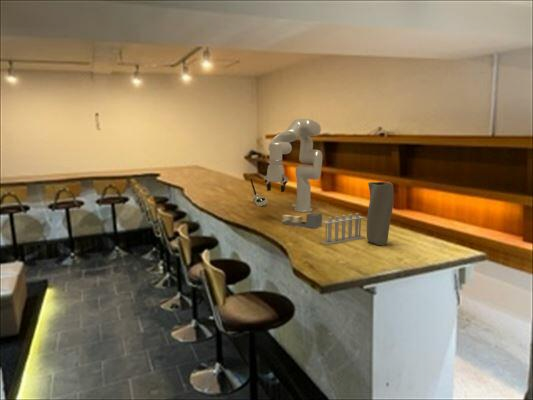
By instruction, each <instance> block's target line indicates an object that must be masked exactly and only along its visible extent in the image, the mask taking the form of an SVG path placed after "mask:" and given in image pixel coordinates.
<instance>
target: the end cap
mask: <svg viewBox="0 0 533 400" xmlns="http://www.w3.org/2000/svg"><path fill="white" fill-rule="evenodd" d="M322 219H323V213H320V212H311V213H310V212H309V213H308V214H306V220H305V222H306V227H305V228H307V229H314V230H317V229H319V228H320V227H322V226H323V225H322V224H323V223H322V221H323V220H322Z"/></svg>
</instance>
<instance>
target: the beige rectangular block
mask: <svg viewBox="0 0 533 400" xmlns="http://www.w3.org/2000/svg"><path fill="white" fill-rule="evenodd" d="M283 221H284V222H292V223H300V224H302V222H303V216H300V215H292V214H291V215H290V214H283V215H281V223H282V222H283Z"/></svg>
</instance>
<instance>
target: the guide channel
mask: <svg viewBox="0 0 533 400" xmlns="http://www.w3.org/2000/svg"><path fill="white" fill-rule="evenodd" d="M281 224H282V225H286V226H287V225H288V226H296V227H302V228H306V221H302V224H300V223H292V222H284V221H283V222H282V221H281Z"/></svg>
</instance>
